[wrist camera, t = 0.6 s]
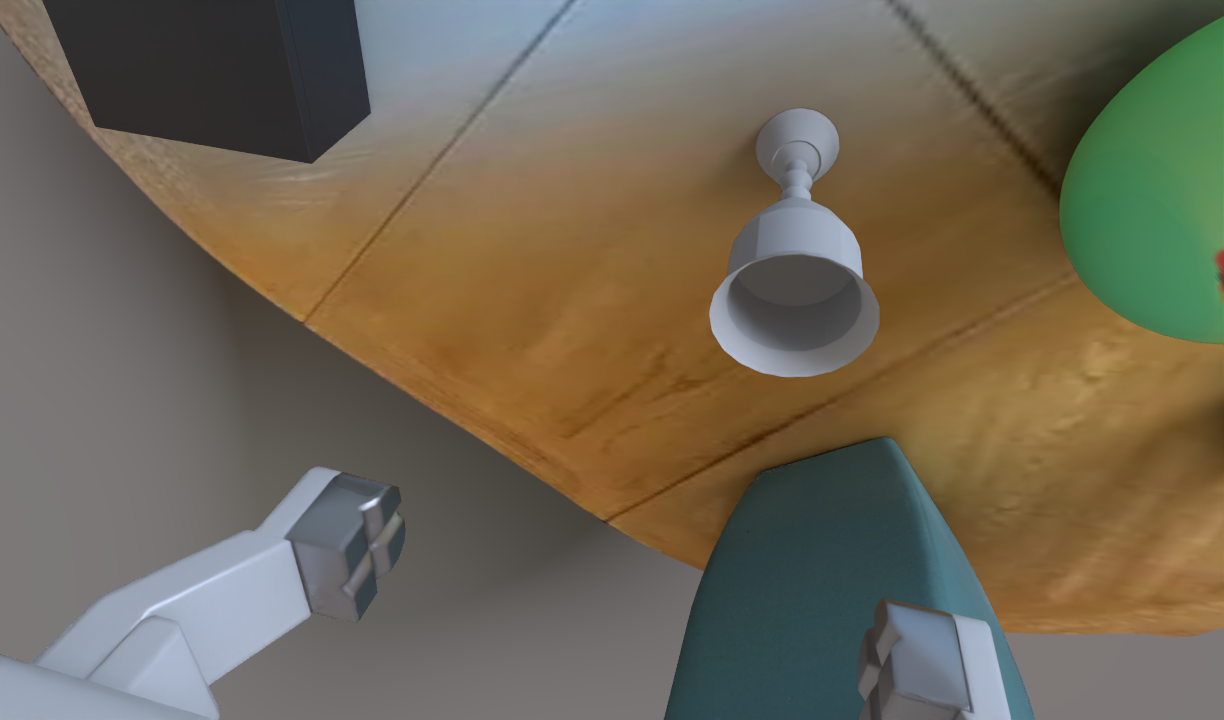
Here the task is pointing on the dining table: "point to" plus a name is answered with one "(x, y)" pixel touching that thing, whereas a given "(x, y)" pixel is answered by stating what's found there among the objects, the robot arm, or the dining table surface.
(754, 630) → the flower pot
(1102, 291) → the toy bird
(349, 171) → the dining table surface
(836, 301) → the chalice
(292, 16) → the dark grey drawer cabinet
